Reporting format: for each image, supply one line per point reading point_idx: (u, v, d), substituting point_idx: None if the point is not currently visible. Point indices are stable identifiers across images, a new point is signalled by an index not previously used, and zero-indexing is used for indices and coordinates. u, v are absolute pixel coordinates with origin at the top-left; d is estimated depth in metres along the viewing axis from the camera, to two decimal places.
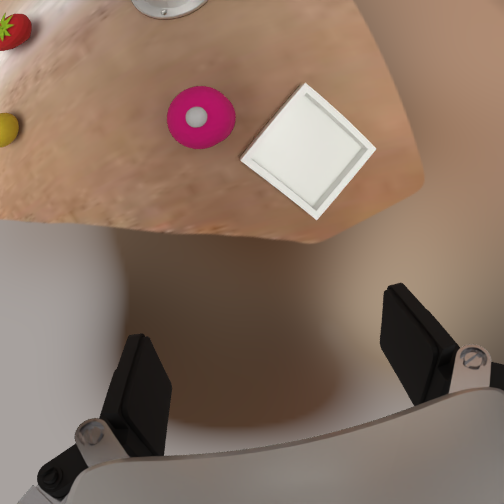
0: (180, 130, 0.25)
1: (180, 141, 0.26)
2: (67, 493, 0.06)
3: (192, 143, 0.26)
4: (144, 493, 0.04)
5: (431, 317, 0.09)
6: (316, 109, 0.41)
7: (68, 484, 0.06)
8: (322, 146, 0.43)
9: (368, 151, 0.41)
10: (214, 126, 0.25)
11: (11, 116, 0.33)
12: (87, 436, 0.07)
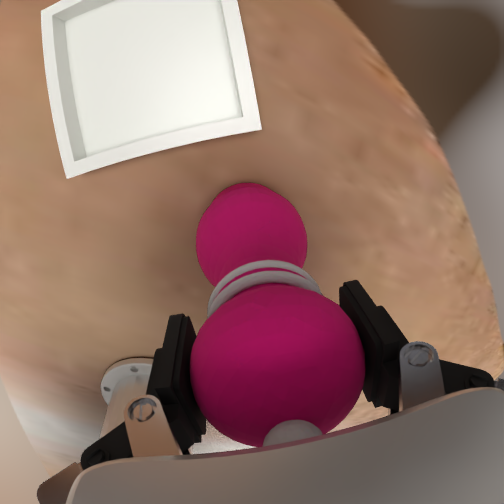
0: (345, 413, 0.09)
1: (364, 377, 0.09)
2: None
3: (355, 369, 0.08)
4: (144, 493, 0.04)
5: (379, 313, 0.09)
6: (83, 119, 0.19)
7: None
8: (117, 53, 0.18)
9: (54, 11, 0.13)
10: (275, 387, 0.07)
11: None
12: (137, 413, 0.08)
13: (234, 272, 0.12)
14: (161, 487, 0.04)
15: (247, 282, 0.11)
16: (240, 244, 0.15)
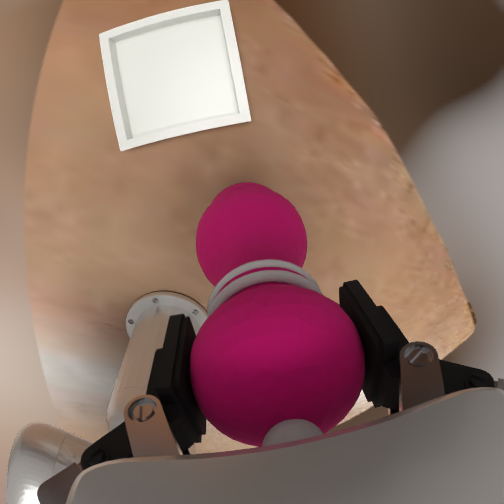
0: (345, 413, 0.09)
1: (364, 376, 0.09)
2: None
3: (355, 368, 0.08)
4: (144, 493, 0.04)
5: (379, 313, 0.09)
6: (130, 112, 0.30)
7: None
8: (155, 68, 0.28)
9: (109, 35, 0.24)
10: (275, 386, 0.08)
11: None
12: (137, 413, 0.08)
13: (234, 271, 0.12)
14: (161, 487, 0.04)
15: (247, 281, 0.11)
16: (240, 244, 0.15)
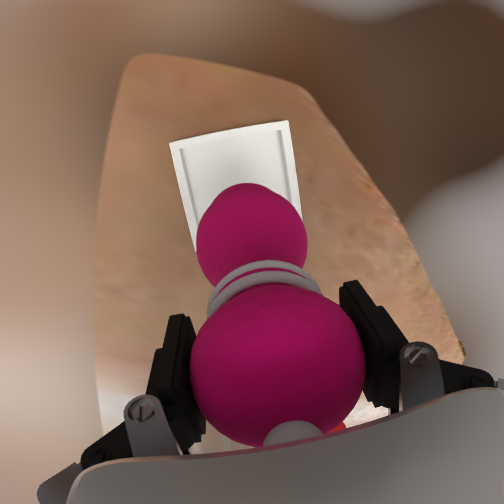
0: (345, 414, 0.08)
1: (364, 377, 0.09)
2: None
3: (356, 370, 0.08)
4: (144, 493, 0.04)
5: (379, 313, 0.09)
6: (200, 215, 0.40)
7: None
8: (221, 177, 0.38)
9: (180, 146, 0.34)
10: (276, 387, 0.07)
11: None
12: (137, 413, 0.08)
13: (234, 272, 0.12)
14: (161, 487, 0.04)
15: (247, 282, 0.11)
16: (240, 244, 0.15)
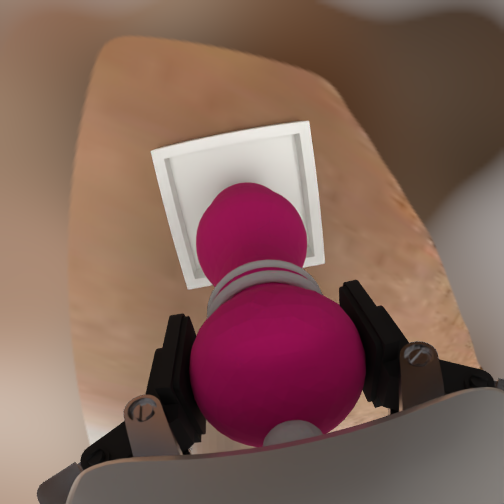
0: (345, 414, 0.08)
1: (364, 377, 0.09)
2: None
3: (356, 369, 0.08)
4: (144, 493, 0.04)
5: (379, 313, 0.09)
6: (193, 242, 0.31)
7: None
8: None
9: (165, 155, 0.26)
10: (275, 387, 0.07)
11: None
12: (137, 413, 0.08)
13: (234, 272, 0.12)
14: (161, 487, 0.04)
15: (247, 282, 0.11)
16: (240, 244, 0.15)
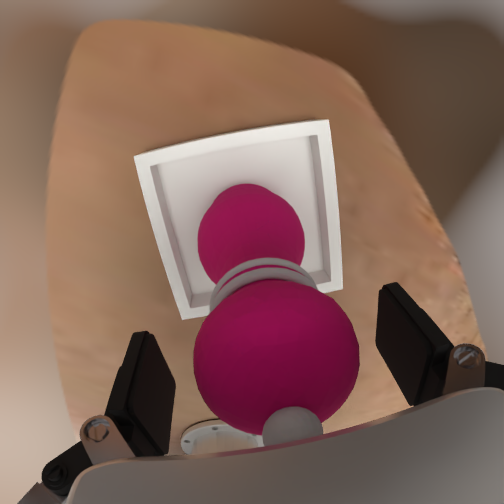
0: (340, 402, 0.09)
1: (358, 367, 0.10)
2: None
3: (349, 359, 0.09)
4: (144, 493, 0.04)
5: (425, 316, 0.09)
6: (188, 264, 0.26)
7: (73, 482, 0.06)
8: None
9: (151, 161, 0.21)
10: (274, 374, 0.08)
11: None
12: (92, 433, 0.07)
13: (235, 269, 0.13)
14: (161, 487, 0.04)
15: (247, 278, 0.12)
16: (240, 243, 0.16)
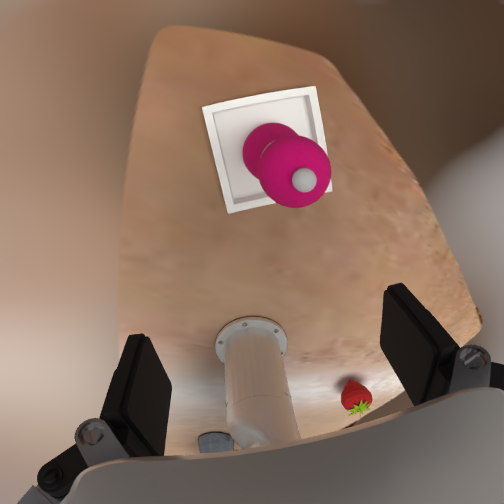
0: (323, 178, 0.23)
1: (330, 168, 0.24)
2: (67, 493, 0.06)
3: (324, 157, 0.23)
4: (144, 493, 0.04)
5: (431, 317, 0.09)
6: (231, 178, 0.41)
7: (68, 484, 0.06)
8: None
9: (213, 110, 0.34)
10: (294, 155, 0.22)
11: None
12: (87, 436, 0.07)
13: (272, 142, 0.27)
14: (161, 487, 0.04)
15: None
16: (271, 140, 0.30)
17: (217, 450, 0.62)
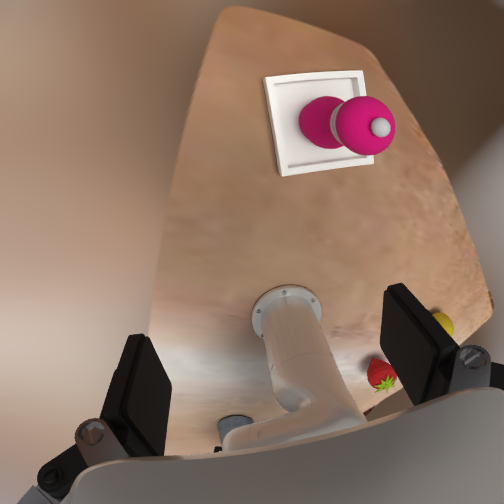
0: (391, 131, 0.25)
1: (394, 124, 0.26)
2: (67, 493, 0.06)
3: (391, 114, 0.25)
4: (144, 493, 0.04)
5: (431, 317, 0.09)
6: (284, 145, 0.43)
7: (68, 484, 0.06)
8: None
9: (275, 81, 0.37)
10: (371, 108, 0.24)
11: None
12: (87, 436, 0.07)
13: (341, 104, 0.29)
14: (161, 487, 0.04)
15: None
16: (335, 106, 0.32)
17: None
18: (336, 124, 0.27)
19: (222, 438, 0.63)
